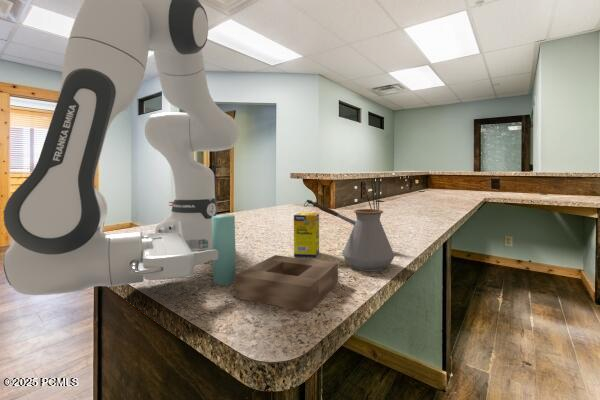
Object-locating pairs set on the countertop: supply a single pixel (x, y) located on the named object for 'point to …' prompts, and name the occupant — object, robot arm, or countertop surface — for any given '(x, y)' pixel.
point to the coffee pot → (364, 240)
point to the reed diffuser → (373, 194)
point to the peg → (224, 249)
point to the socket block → (287, 282)
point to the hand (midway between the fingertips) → (212, 248)
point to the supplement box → (306, 234)
